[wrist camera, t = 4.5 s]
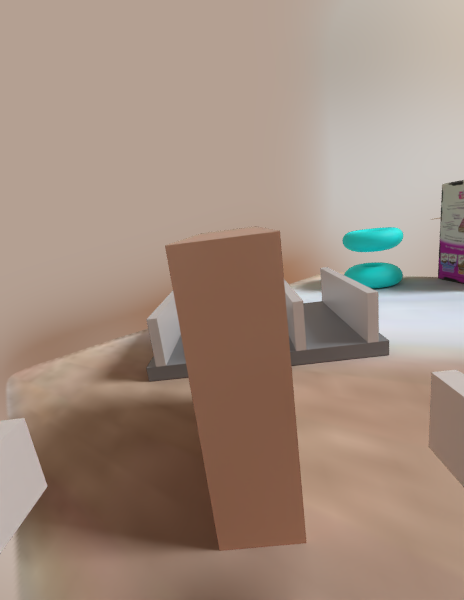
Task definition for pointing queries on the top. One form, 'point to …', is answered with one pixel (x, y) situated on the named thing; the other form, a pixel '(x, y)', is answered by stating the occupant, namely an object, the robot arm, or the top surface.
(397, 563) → the top surface
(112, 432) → the top surface
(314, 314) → the dish rack
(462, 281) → the candy bar box
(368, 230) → the donuts
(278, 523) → the terracotta tile
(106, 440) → the top surface
